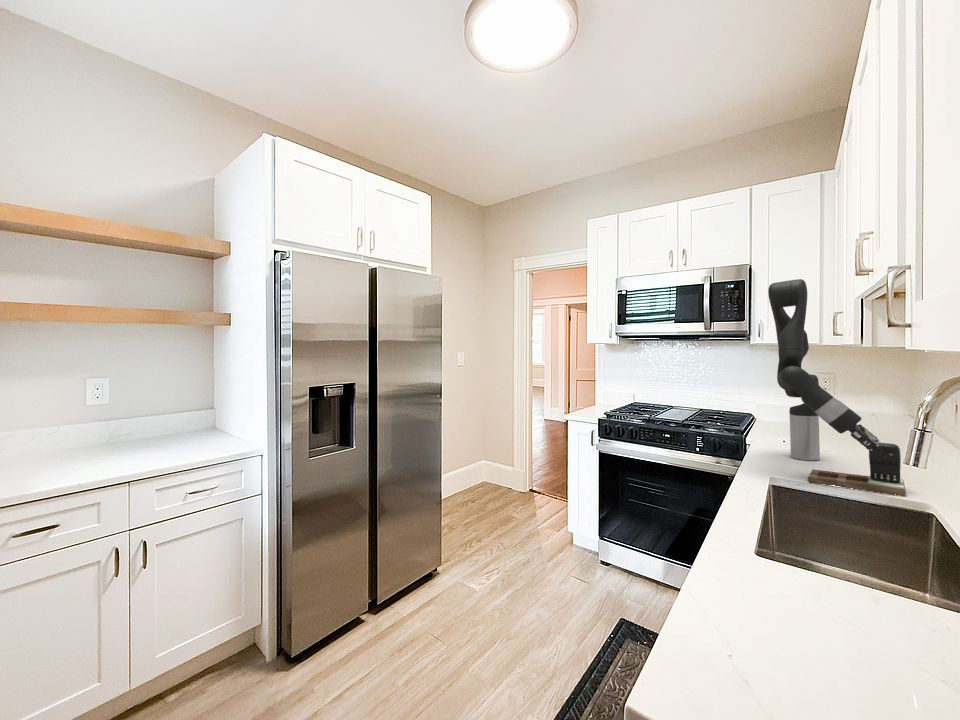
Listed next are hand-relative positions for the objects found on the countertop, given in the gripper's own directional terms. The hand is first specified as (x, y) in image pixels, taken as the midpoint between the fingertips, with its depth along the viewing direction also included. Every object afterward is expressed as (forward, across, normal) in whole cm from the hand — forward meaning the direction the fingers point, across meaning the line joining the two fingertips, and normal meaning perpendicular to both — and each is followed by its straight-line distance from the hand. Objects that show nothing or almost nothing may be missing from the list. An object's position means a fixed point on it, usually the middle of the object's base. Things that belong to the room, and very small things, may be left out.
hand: (888, 455), depth 128 cm
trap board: (+2, 0, +13) cm, 13 cm away
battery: (+5, 0, +6) cm, 8 cm away
